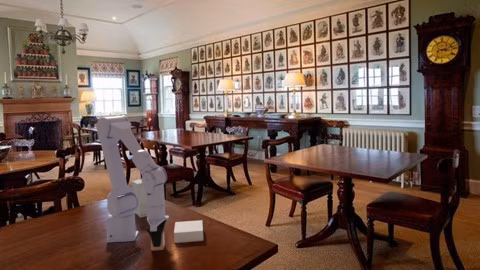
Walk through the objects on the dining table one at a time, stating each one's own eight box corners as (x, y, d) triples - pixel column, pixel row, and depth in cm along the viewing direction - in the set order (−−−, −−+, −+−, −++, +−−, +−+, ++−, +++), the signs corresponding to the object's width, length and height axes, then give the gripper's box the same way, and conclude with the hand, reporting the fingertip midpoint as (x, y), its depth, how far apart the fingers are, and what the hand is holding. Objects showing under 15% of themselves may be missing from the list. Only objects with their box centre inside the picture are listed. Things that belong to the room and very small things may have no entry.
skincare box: (153, 215, 145) (151, 181, 143) (139, 218, 142) (137, 183, 140) (146, 210, 152) (144, 177, 150) (133, 212, 149) (131, 179, 147)
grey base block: (174, 243, 118) (173, 232, 117) (175, 232, 128) (175, 222, 127) (203, 241, 119) (202, 230, 119) (202, 230, 129) (202, 220, 128)
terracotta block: (151, 250, 112) (150, 236, 112) (152, 245, 116) (152, 231, 116) (163, 249, 113) (162, 235, 112) (164, 244, 117) (164, 230, 116)
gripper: (165, 211, 106) (167, 252, 107) (170, 197, 120) (172, 233, 122) (142, 212, 105) (144, 254, 107) (149, 198, 119) (152, 235, 121)
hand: (157, 243), depth 114 cm, fingers closed on terracotta block, 4 cm apart
